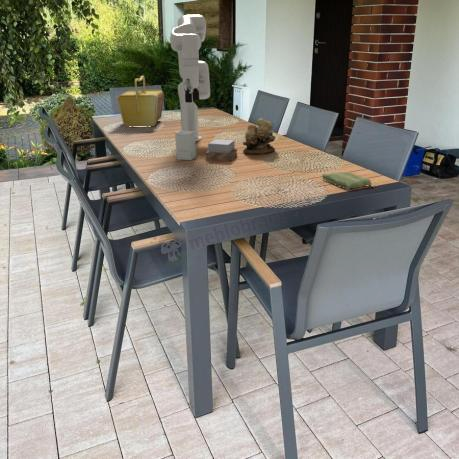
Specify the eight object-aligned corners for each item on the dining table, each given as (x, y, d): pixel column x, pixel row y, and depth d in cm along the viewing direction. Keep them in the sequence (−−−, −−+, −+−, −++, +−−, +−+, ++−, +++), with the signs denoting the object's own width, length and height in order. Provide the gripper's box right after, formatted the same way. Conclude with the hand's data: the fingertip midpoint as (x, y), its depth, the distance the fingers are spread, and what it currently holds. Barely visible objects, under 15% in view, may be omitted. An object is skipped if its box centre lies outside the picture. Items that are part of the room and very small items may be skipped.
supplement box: (196, 157, 232) (195, 131, 227) (190, 160, 225) (189, 134, 220) (182, 155, 234) (181, 130, 229) (176, 159, 228) (174, 133, 223)
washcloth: (344, 175, 200) (345, 168, 199) (373, 187, 186) (374, 179, 184) (319, 180, 195) (319, 172, 194) (346, 192, 181) (346, 183, 179)
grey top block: (208, 151, 226) (208, 143, 225) (215, 147, 235) (215, 139, 233) (228, 153, 223) (228, 144, 222) (234, 148, 232) (234, 140, 231)
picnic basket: (159, 128, 302) (156, 78, 290) (119, 128, 303) (114, 79, 291) (165, 120, 329) (162, 74, 317) (128, 120, 330) (124, 75, 318)
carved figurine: (268, 147, 249) (269, 114, 242) (281, 152, 239) (282, 118, 232) (238, 151, 241) (238, 117, 235) (249, 156, 232) (250, 121, 225)
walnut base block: (205, 160, 227) (205, 152, 225) (214, 154, 237) (213, 146, 236) (229, 162, 223) (229, 153, 222) (236, 156, 234) (236, 148, 232)
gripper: (189, 62, 227) (191, 99, 233) (176, 63, 211) (178, 103, 217) (204, 62, 225) (205, 99, 231) (191, 63, 209) (193, 103, 215)
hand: (192, 101), depth 224 cm, fingers open, 9 cm apart
